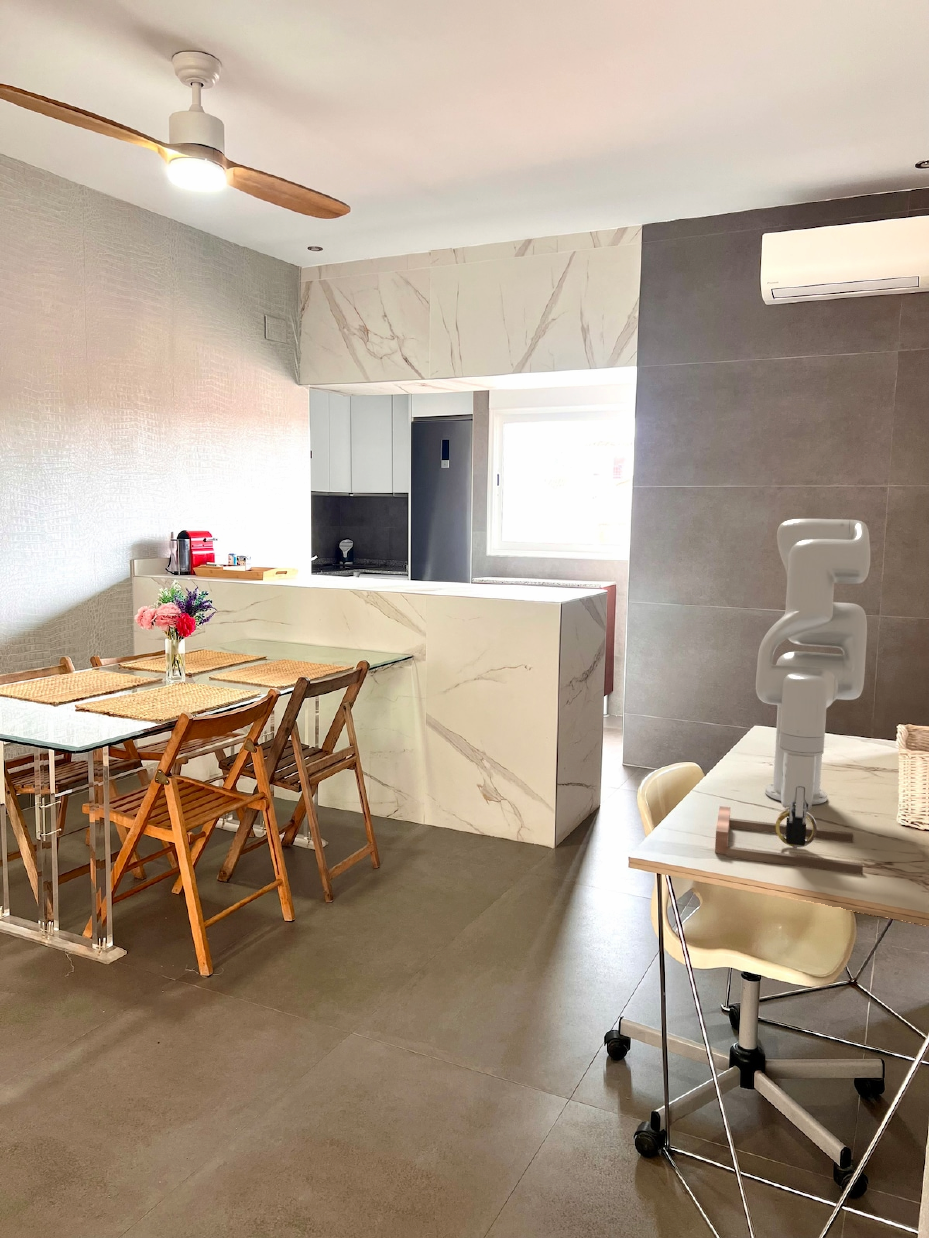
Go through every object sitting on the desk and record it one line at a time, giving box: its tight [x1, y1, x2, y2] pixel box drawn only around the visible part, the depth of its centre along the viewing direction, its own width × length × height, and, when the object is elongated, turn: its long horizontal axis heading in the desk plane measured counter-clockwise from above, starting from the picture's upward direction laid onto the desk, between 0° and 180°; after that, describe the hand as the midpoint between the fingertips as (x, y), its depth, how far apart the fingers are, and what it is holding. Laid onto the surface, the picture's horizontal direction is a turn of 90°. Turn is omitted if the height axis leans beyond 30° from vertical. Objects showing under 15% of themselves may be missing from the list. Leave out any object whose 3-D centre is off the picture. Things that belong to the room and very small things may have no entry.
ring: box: [775, 804, 818, 849], centre depth 161 cm, size 7×3×8 cm, turn 66°
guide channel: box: [714, 805, 864, 875], centre depth 161 cm, size 17×24×4 cm
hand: (795, 841), depth 161 cm, fingers closed on ring, 1 cm apart
